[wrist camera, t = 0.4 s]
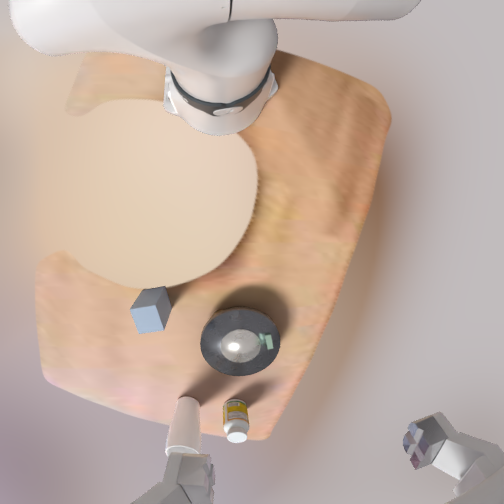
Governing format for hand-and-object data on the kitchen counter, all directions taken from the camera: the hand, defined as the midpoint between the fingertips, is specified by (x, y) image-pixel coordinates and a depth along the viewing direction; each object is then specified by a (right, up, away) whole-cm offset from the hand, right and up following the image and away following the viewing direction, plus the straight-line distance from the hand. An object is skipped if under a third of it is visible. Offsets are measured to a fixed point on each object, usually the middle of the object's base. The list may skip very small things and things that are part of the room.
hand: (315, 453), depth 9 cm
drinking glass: (-17, -26, +46) cm, 55 cm away
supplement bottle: (-6, -26, +48) cm, 55 cm away
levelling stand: (-5, -8, +43) cm, 44 cm away
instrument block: (-19, -1, +40) cm, 44 cm away
